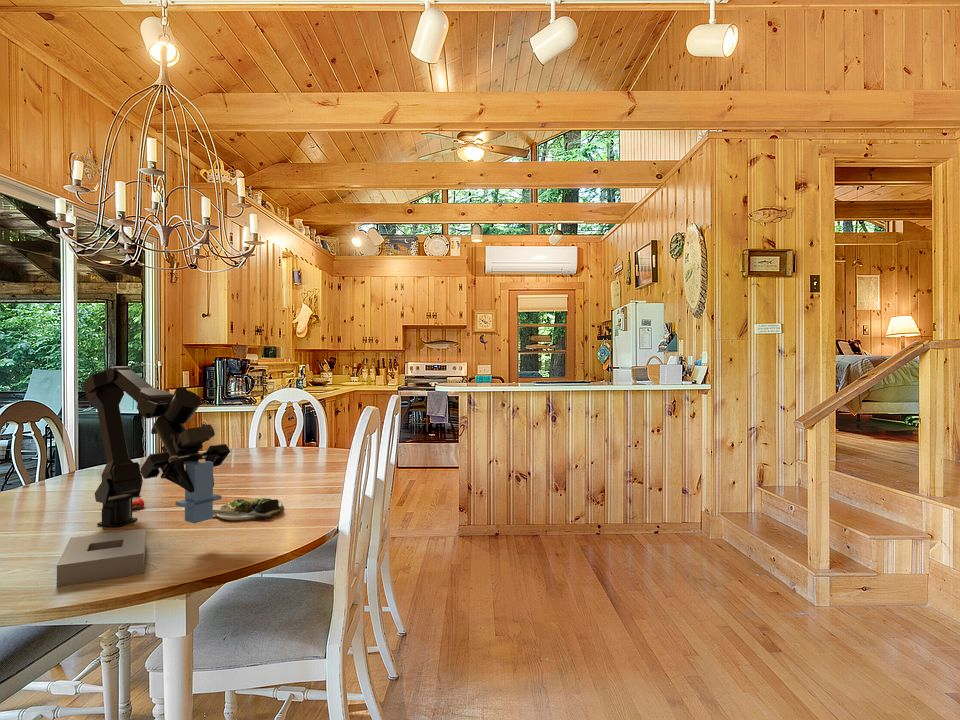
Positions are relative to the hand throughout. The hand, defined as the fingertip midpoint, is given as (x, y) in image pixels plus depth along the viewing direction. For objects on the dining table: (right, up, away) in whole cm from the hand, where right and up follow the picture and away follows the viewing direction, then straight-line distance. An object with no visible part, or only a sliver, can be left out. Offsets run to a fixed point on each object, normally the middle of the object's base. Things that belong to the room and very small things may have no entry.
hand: (202, 489), depth 126 cm
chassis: (-15, -13, -10) cm, 23 cm away
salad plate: (-1, -14, +29) cm, 32 cm away
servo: (-1, -7, +1) cm, 7 cm away
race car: (-38, -13, +34) cm, 53 cm away
